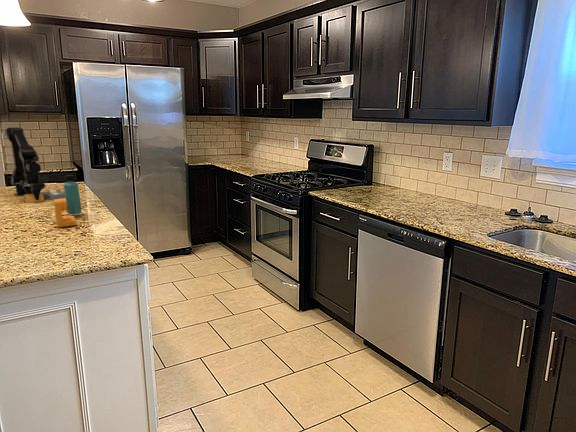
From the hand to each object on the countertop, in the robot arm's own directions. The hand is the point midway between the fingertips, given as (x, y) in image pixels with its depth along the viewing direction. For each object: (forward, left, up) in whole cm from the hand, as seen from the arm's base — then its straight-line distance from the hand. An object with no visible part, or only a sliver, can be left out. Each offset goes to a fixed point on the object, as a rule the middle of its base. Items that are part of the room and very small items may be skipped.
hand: (34, 199), depth 238 cm
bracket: (+64, -12, -1) cm, 65 cm away
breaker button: (-3, +11, -1) cm, 11 cm away
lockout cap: (0, 0, -1) cm, 1 cm away
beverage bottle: (+51, -2, -1) cm, 51 cm away
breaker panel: (-3, +13, -1) cm, 13 cm away
